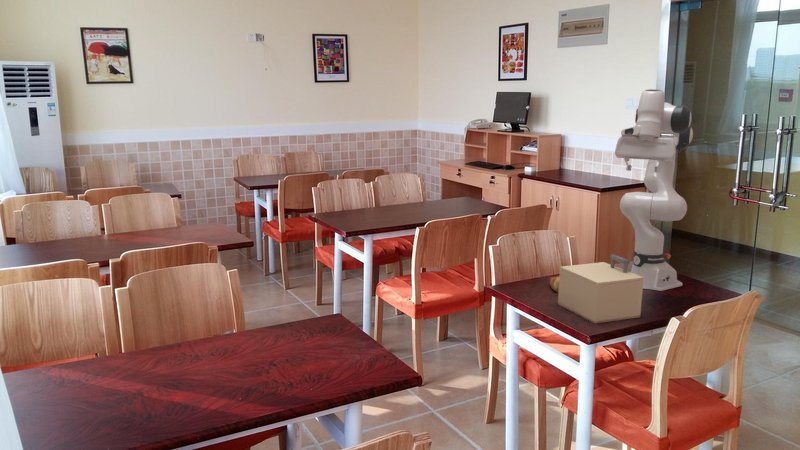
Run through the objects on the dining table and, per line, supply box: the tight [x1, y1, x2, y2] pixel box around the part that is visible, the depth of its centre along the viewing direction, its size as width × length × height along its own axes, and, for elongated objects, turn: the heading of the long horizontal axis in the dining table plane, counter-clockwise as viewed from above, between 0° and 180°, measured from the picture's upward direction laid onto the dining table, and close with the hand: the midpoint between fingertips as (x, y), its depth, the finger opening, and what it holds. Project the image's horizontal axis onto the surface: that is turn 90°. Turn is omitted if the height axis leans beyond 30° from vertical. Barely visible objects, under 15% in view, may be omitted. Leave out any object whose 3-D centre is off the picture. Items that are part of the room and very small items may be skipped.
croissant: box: [548, 275, 560, 294], centre depth 265 cm, size 21×10×8 cm, turn 20°
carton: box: [557, 268, 644, 324], centre depth 241 cm, size 20×22×14 cm
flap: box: [559, 253, 644, 285], centre depth 239 cm, size 20×22×6 cm
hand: (642, 171), depth 232 cm, fingers open, 8 cm apart
